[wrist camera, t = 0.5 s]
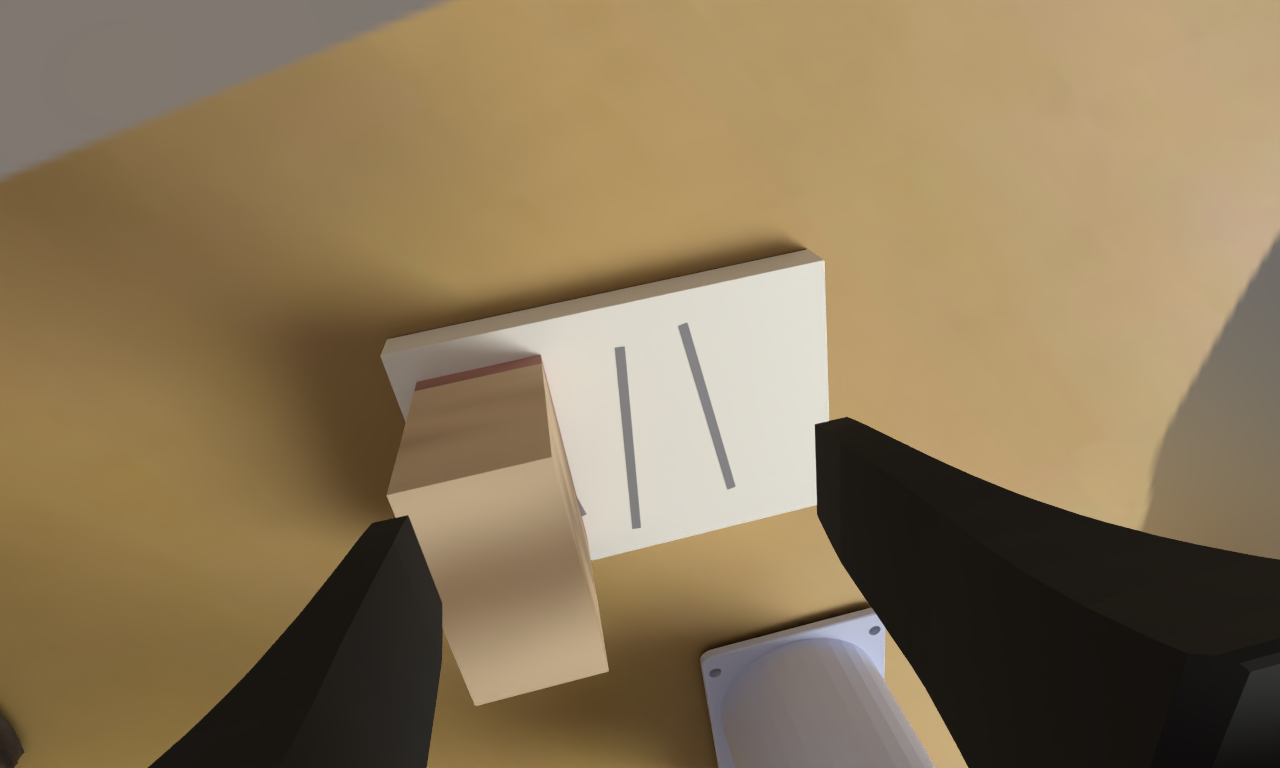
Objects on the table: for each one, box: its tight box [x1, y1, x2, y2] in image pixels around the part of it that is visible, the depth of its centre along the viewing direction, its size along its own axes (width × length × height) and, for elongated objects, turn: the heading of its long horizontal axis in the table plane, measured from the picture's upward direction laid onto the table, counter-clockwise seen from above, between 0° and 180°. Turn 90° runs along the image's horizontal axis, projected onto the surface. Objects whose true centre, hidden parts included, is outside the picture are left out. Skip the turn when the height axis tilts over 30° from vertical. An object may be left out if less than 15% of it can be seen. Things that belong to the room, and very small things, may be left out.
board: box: [380, 249, 829, 561], centre depth 22 cm, size 9×13×1 cm
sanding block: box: [386, 355, 609, 706], centre depth 19 cm, size 7×4×6 cm, turn 9°
